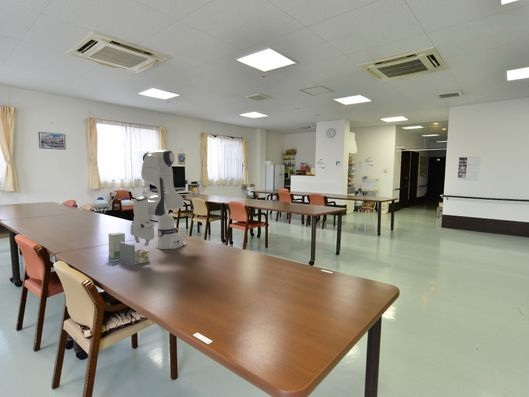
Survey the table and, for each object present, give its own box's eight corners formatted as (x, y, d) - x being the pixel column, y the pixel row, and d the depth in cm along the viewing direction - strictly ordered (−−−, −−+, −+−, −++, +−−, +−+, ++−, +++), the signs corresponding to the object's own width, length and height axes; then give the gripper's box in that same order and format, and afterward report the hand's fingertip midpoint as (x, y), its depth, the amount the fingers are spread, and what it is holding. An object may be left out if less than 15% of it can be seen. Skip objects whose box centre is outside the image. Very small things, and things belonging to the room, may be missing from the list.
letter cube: (143, 258, 186) (142, 248, 185) (148, 259, 183) (148, 250, 182) (134, 260, 181) (134, 250, 181) (139, 262, 178) (139, 252, 177)
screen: (124, 259, 185) (124, 240, 183) (138, 263, 176) (137, 244, 175) (116, 261, 180) (116, 242, 179) (130, 266, 172) (130, 246, 171)
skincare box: (113, 258, 185) (112, 235, 184) (108, 256, 189) (107, 233, 187) (126, 256, 192) (125, 233, 190) (121, 254, 196) (120, 231, 194)
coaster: (143, 258, 187) (143, 257, 187) (149, 260, 183) (149, 259, 183) (133, 261, 181) (133, 260, 181) (139, 263, 177) (139, 262, 177)
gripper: (127, 221, 183) (127, 242, 185) (146, 226, 172) (147, 248, 174) (136, 219, 188) (137, 239, 190) (156, 224, 177) (156, 246, 179)
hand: (142, 244), depth 182 cm, fingers open, 8 cm apart
